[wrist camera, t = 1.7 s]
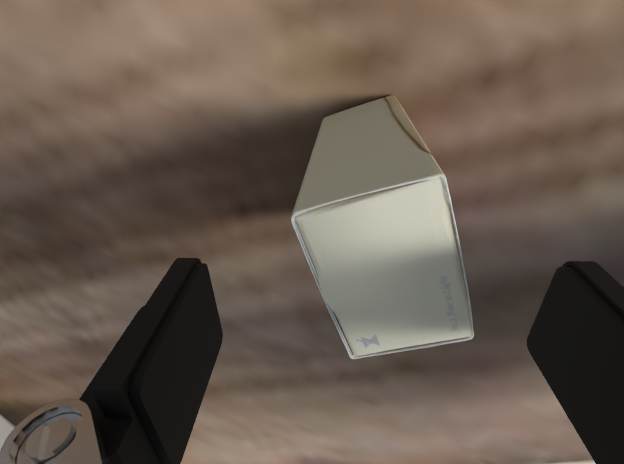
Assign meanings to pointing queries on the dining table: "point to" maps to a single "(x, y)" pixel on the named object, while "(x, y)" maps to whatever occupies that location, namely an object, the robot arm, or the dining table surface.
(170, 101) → the dining table surface
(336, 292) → the skincare box
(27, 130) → the dining table surface
